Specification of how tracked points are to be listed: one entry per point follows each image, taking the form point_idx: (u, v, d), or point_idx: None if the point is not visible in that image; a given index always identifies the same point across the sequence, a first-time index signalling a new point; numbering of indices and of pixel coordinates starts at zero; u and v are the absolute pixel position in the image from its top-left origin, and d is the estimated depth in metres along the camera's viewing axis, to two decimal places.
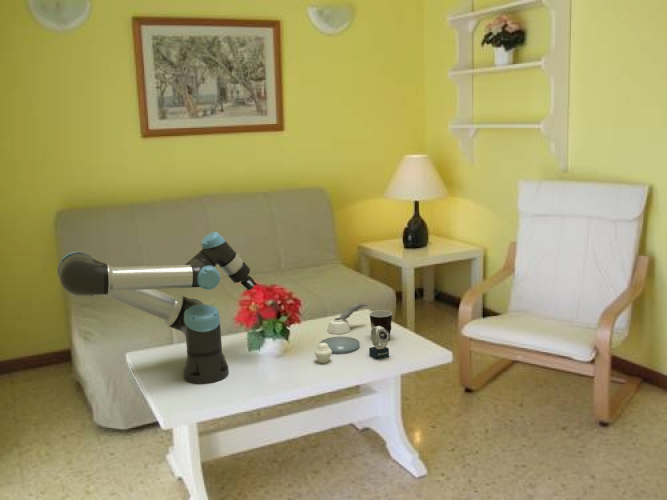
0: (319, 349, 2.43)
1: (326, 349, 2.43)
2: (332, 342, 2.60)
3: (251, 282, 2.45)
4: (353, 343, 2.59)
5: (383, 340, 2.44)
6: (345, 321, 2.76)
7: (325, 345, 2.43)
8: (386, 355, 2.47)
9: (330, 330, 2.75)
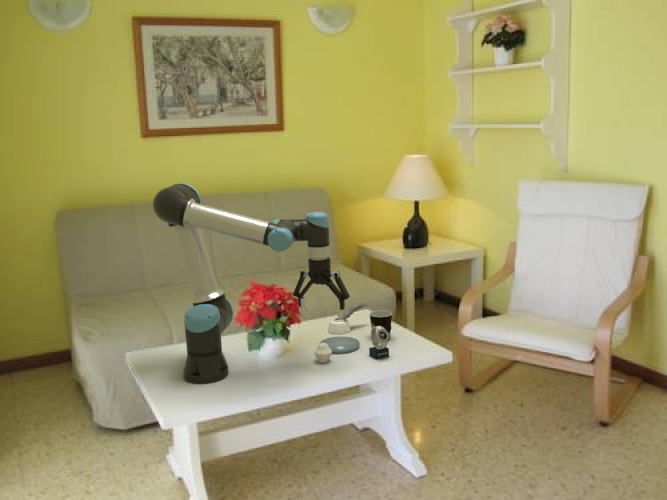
0: (319, 349, 2.43)
1: (326, 349, 2.43)
2: (332, 342, 2.60)
3: (338, 273, 2.37)
4: (353, 343, 2.59)
5: (383, 340, 2.44)
6: (345, 321, 2.76)
7: (325, 345, 2.43)
8: (386, 355, 2.47)
9: (330, 330, 2.75)
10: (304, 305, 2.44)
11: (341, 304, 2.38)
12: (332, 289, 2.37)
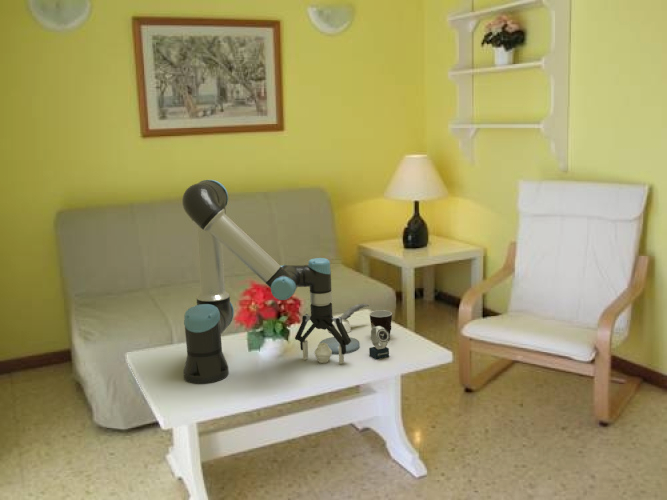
0: (319, 349, 2.43)
1: (326, 349, 2.43)
2: (332, 342, 2.60)
3: (340, 318, 2.40)
4: (353, 343, 2.59)
5: (383, 340, 2.44)
6: (346, 321, 2.76)
7: (325, 345, 2.43)
8: (386, 355, 2.47)
9: None
10: (306, 348, 2.47)
11: (342, 349, 2.41)
12: (334, 334, 2.41)
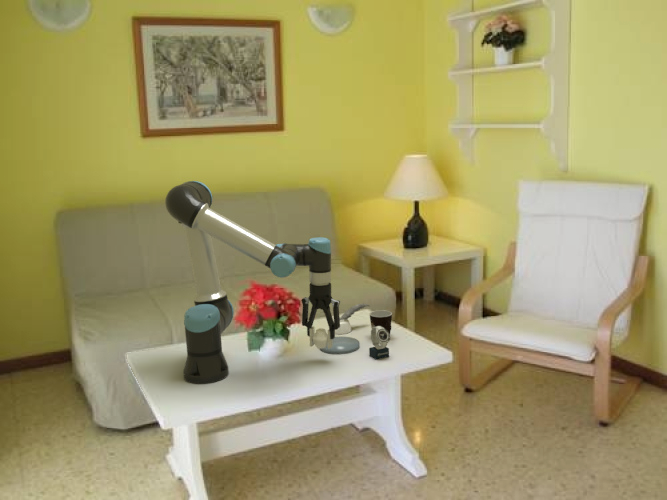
0: (317, 334, 2.42)
1: (324, 334, 2.42)
2: None
3: (338, 303, 2.39)
4: (353, 343, 2.59)
5: (383, 340, 2.44)
6: (346, 321, 2.76)
7: (323, 330, 2.42)
8: (386, 355, 2.47)
9: None
10: None
11: (331, 334, 2.41)
12: (327, 317, 2.40)
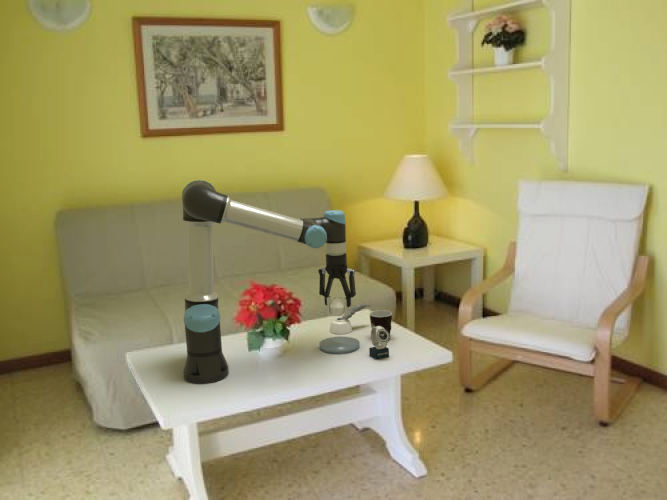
0: (334, 303, 2.54)
1: (341, 303, 2.54)
2: (332, 342, 2.60)
3: (354, 272, 2.51)
4: (353, 343, 2.59)
5: (383, 340, 2.44)
6: (347, 321, 2.76)
7: (340, 299, 2.54)
8: (386, 355, 2.47)
9: (332, 330, 2.75)
10: None
11: (348, 302, 2.54)
12: (343, 285, 2.52)
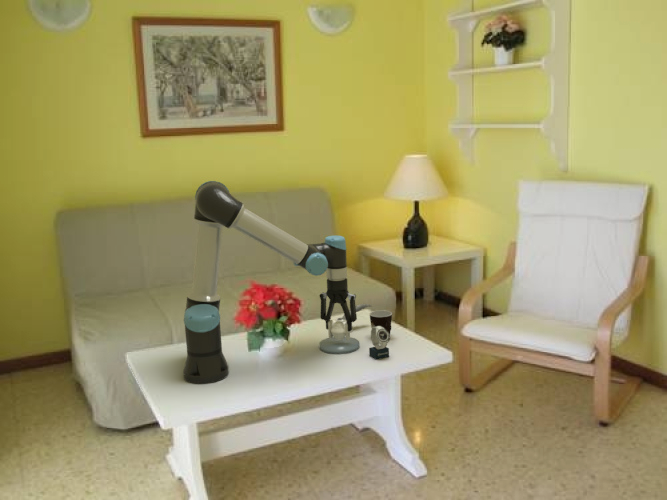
0: (335, 327, 2.56)
1: (342, 327, 2.56)
2: (332, 342, 2.60)
3: (355, 297, 2.53)
4: (353, 343, 2.59)
5: (383, 340, 2.44)
6: None
7: (341, 323, 2.56)
8: (386, 355, 2.47)
9: None
10: (331, 328, 2.59)
11: (349, 326, 2.55)
12: (344, 310, 2.54)
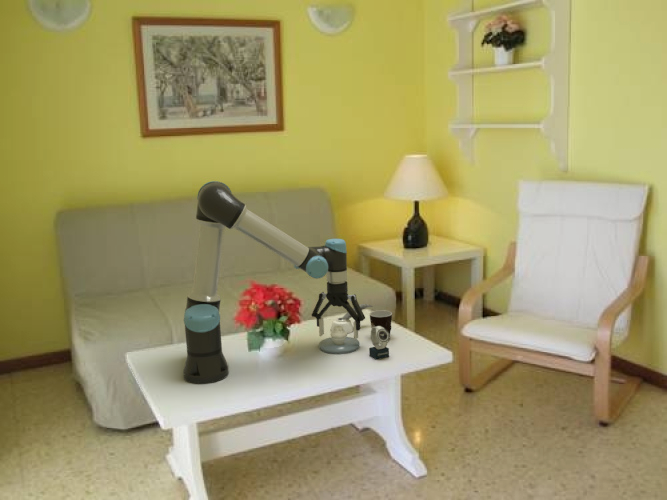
0: (335, 331, 2.56)
1: (342, 331, 2.56)
2: (332, 342, 2.60)
3: (355, 296, 2.53)
4: (353, 343, 2.59)
5: (383, 340, 2.44)
6: (348, 321, 2.76)
7: (341, 327, 2.57)
8: (386, 355, 2.47)
9: None
10: (322, 325, 2.60)
11: (357, 325, 2.54)
12: (349, 311, 2.54)
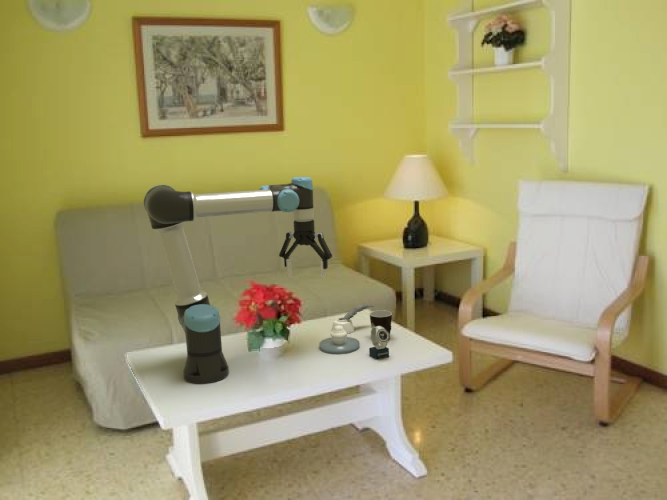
0: (335, 331, 2.56)
1: (342, 331, 2.56)
2: (332, 342, 2.60)
3: (322, 234, 2.52)
4: (353, 343, 2.59)
5: (383, 340, 2.44)
6: (349, 321, 2.75)
7: (341, 327, 2.57)
8: (386, 355, 2.47)
9: None
10: (290, 265, 2.58)
11: (324, 264, 2.53)
12: (316, 249, 2.52)
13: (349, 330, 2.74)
